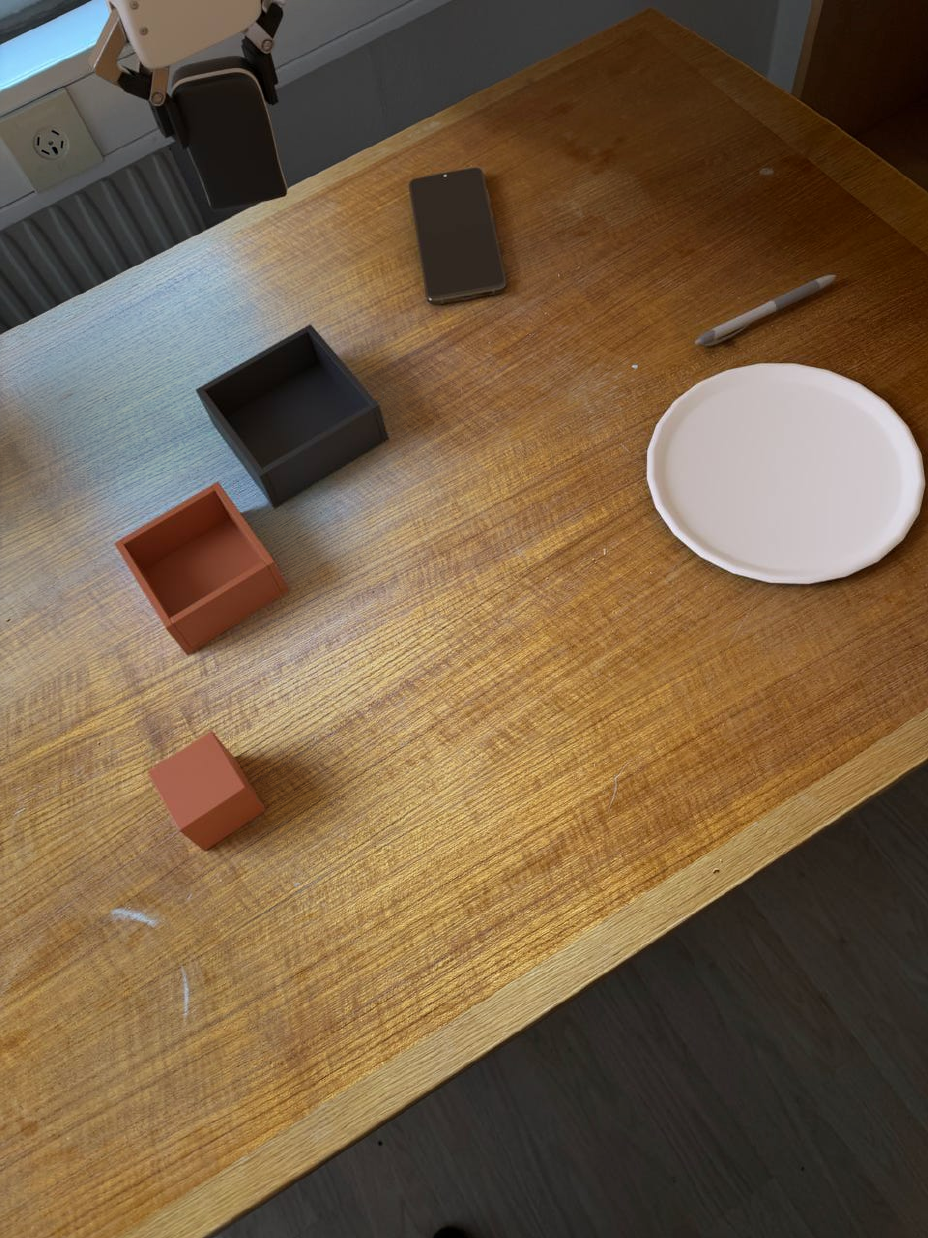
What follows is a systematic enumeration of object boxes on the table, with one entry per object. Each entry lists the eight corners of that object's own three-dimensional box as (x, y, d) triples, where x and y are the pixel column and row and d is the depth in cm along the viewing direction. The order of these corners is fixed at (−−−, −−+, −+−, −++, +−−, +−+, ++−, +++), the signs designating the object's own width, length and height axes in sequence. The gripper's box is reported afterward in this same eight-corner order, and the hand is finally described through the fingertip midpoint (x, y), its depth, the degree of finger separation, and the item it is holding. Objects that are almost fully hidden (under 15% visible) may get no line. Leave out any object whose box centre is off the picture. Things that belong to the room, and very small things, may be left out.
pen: (691, 346, 88) (692, 334, 87) (830, 280, 90) (833, 267, 88) (698, 354, 87) (699, 342, 86) (837, 287, 89) (840, 274, 88)
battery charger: (286, 169, 89) (251, 42, 79) (291, 198, 88) (255, 71, 78) (207, 185, 89) (161, 59, 79) (210, 215, 87) (164, 90, 77)
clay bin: (186, 655, 79) (165, 628, 75) (136, 572, 83) (113, 543, 79) (289, 590, 81) (274, 561, 77) (235, 513, 85) (217, 481, 81)
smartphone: (426, 301, 92) (407, 177, 99) (428, 309, 93) (408, 187, 100) (508, 286, 92) (482, 164, 99) (509, 295, 93) (483, 173, 100)
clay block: (204, 851, 72) (179, 831, 67) (172, 795, 74) (146, 772, 69) (266, 810, 72) (245, 787, 68) (233, 756, 75) (211, 730, 70)
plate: (762, 641, 74) (764, 633, 73) (593, 451, 84) (593, 442, 83) (982, 498, 78) (987, 488, 77) (796, 332, 87) (799, 321, 86)
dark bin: (274, 509, 84) (259, 476, 81) (212, 423, 89) (194, 389, 85) (389, 439, 87) (379, 404, 83) (322, 359, 91) (310, 323, 88)
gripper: (233, -201, 70) (294, 50, 86) (-3, -102, 66) (105, 141, 82) (287, -159, 67) (340, 93, 82) (42, -52, 63) (145, 191, 79)
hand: (222, 116), depth 82 cm, fingers closed on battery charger, 7 cm apart
